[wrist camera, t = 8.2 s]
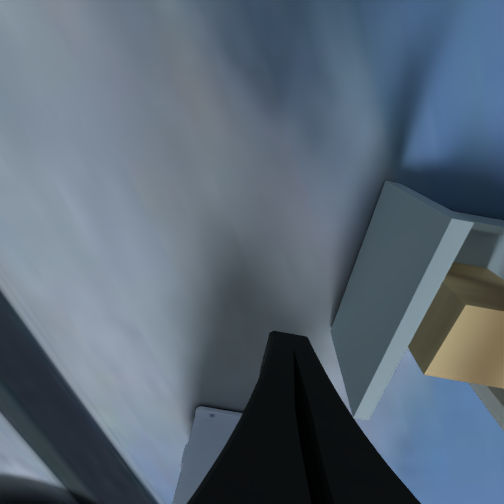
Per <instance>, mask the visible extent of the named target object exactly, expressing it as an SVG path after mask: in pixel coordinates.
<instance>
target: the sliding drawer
mask: <svg viewBox="0 0 504 504" xmlns="http://www.w3.org/2000/svg"><path fill="white" fill-rule="evenodd" d="M453 262H456V263H462V264H467V265H473V266H478V267H484V268H488V269H489V270H490V271H492V272H493V273H495V274H496V275H498V276H499V277H500V278H502V279H503V280H504V220H499V219H493V218H488V217H482V216H477V215H471V214H466V213H460V212H454V211H451V210H449V209H448V208H446V207H444V206H442V205H440V204H438V203H436V202H434V201H432V200H430V199H429V198H427V197H425V196H423V195H421V194H419V193H417V192H415V191H413V190H412V189H410V188H408V187H406V186H404V185H402V184H400V183H396V182H390V181H385V183H384V186H383V189H382V191H381V194H380V197H379V200H378V202H377V205H376V208H375V211H374V213H373V216H372V219H371V222H370V224H369V227H368V230H367V232H366V235H365V238H364V241H363V243H362V246H361V249H360V252H359V254H358V257H357V260H356V263H355V265H354V268H353V271H352V274H351V276H350V279H349V282H348V284H347V287H346V290H345V293H344V295H343V298H342V301H341V304H340V306H339V309H338V312H337V315H336V317H335V320H334V323H333V326H332V328H331V331H330V332H331V336H332V340H333V343H334V347H335V351H336V355H337V358H338V362H339V366H340V370H341V374H342V377H343V381H344V385H345V389H346V392H347V396H348V400H349V404H350V408H351V411H352V415H353V418H357V419H362V420H369V419H370V417H371V415H372V413H373V411H374V409H375V407H376V405H377V404H378V402H379V400H380V398H381V396H382V394H383V392H384V390H385V389H386V387H387V385H388V383H389V381H390V379H391V377H392V375H393V374H394V372H395V370H396V368H397V366H398V364H399V362H400V361H401V359H402V357H403V355H404V353H405V351H406V350H409V348H408V346H409V344H410V342H411V340H412V338H413V336H414V334H415V332H416V331H417V329H418V327H419V325H420V323H421V321H422V319H423V318H424V316H425V314H426V312H427V310H428V308H429V306H430V304H431V303H432V301H433V299H434V297H435V295H436V293H437V291H438V289H439V288H440V286H441V284H442V282H443V280H444V278H445V276H446V274H447V273H448V271H449V269H450V267H451V265H452V263H453ZM409 351H410V350H409Z"/></svg>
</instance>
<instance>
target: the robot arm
mask: <svg viewBox="0 0 504 504" xmlns="http://www.w3.org/2000/svg"><path fill="white" fill-rule="evenodd" d="M172 504H421V503H420V502H419V501H418V500H417V499H416V498H415V496H414V495H413V494H412V493H411V492H410V491H409V489H408V488H407V487H406V486H405V485H404V483H403V482H402V481H401V480H400V479H399V478H398V476H397V475H396V474H395V473H394V472H393V471H392V469H391V468H390V467H389V466H388V464H387V463H386V462H385V461H384V459H383V458H382V457H381V456H380V454H379V453H378V452H377V450H376V449H375V448H374V446H373V445H372V444H371V442H370V441H369V440H368V438H367V437H366V436H365V434H364V433H363V431H362V430H361V428H360V427H359V426H358V424H357V423H356V421H355V420H354V418H353V417H352V415H351V414H350V412H349V411H348V409H347V407H346V406H345V404H344V403H343V401H342V400H341V398H340V396H339V395H338V393H337V391H336V390H335V388H334V386H333V384H332V383H331V381H330V379H329V378H328V376H327V374H326V372H325V370H324V369H323V367H322V365H321V363H320V361H319V359H318V357H317V355H316V353H315V351H314V349H313V347H312V345H311V343H310V341H309V339H308V338H307V337H305V336H300V335H294V334H289V333H283V332H277V331H272V332H270V334H269V338H268V342H267V345H266V349H265V353H264V357H263V361H262V365H261V370H260V377H259V379H258V382H257V384H256V386H255V389H254V391H253V393H252V395H251V398H250V400H249V402H248V404H247V406H246V408H245V410H244V412H243V413H238V412H232V411H226V410H220V409H215V408H209V407H203V406H200V407H197V409H196V412H195V419H194V422H193V426H192V430H191V434H190V438H189V441H188V444H186V446H185V449H184V453H183V457H182V462H181V472H180V476H179V480H178V483H177V487H176V491H175V495H174V499H173V503H172Z"/></svg>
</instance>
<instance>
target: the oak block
mask: <svg viewBox="0 0 504 504" xmlns="http://www.w3.org/2000/svg"><path fill="white" fill-rule="evenodd" d="M408 348H409V350H410V352H411V353H412V355H413V357H414V359H415V360H416V362H417V364H418V365H419V367H420V369H421V371H422V372H423V374H424V375H429V376H434V377H440V378H446V379H451V380H457V381H463V382H469V383H474V384H480V385H486V386H491V387H497V388H503V389H504V280H503V279H502V278H500V277H499V276H498V275H496V274H495V273H493V272H492V271H490V270H489V269H488V268H484V267H478V266H473V265H467V264H462V263H456V262H453V263H452V265H451V267H450V269H449V271H448V273H447V274H446V276H445V278H444V280H443V282H442V284H441V286H440V288H439V289H438V291H437V293H436V295H435V297H434V299H433V301H432V303H431V304H430V306H429V308H428V310H427V312H426V314H425V316H424V318H423V319H422V321H421V323H420V325H419V327H418V329H417V331H416V332H415V334H414V336H413V338H412V340H411V342H410V344H409V346H408Z"/></svg>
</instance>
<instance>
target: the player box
mask: <svg viewBox="0 0 504 504" xmlns="http://www.w3.org/2000/svg"><path fill="white" fill-rule="evenodd" d="M468 383H469V382H468ZM469 385H470V386H471V387H472V389H473V390H474V391H475V393H476V394H477V395H478V397H479V398H480V400H481V401H482V402H483V404H484V405H485V406H486V408H487V409H488V410H489V412H490V413H491V415H492V416H493V417H494V419H495V420H496V421H497V423H498V424H499V426H500V427H501V428H502V430H503V431H504V389H503V388H497V387H491V386H486V385H480V384H474V383H469Z"/></svg>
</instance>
